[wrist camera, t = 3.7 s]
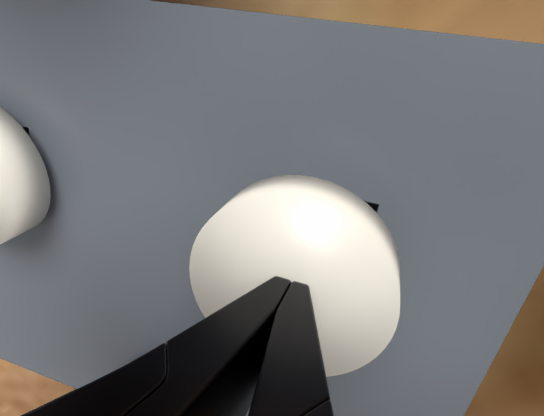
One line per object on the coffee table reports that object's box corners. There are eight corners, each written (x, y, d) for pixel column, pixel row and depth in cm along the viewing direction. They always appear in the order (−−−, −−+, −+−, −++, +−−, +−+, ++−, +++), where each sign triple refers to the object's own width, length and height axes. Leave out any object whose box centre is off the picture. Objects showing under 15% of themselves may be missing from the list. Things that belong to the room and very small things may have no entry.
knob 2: (420, 163, 11) (430, 228, 7) (379, 300, 13) (370, 403, 9) (253, 131, 12) (189, 173, 8) (243, 262, 14) (188, 341, 11)
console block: (558, 48, 11) (654, 56, 7) (405, 414, 20) (407, 522, 15) (-30, -18, 17) (-177, -37, 13) (41, 291, 25) (-34, 344, 21)
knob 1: (98, 95, 14) (-6, 115, 11) (110, 213, 17) (29, 263, 13) (-6, 76, 15) (-133, 88, 12) (19, 188, 18) (-80, 228, 14)
